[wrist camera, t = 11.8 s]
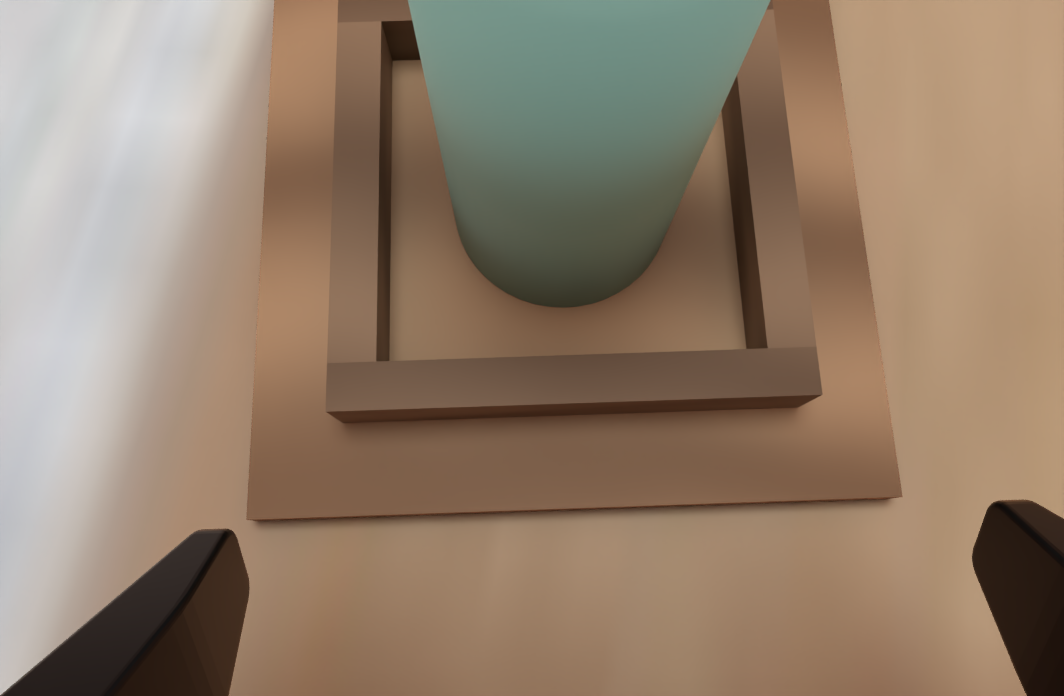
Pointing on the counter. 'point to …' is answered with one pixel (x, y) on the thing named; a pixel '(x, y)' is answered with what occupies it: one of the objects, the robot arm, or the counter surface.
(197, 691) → the robot arm
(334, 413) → the cradle board
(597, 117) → the green dome-top cylinder
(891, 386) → the counter surface
